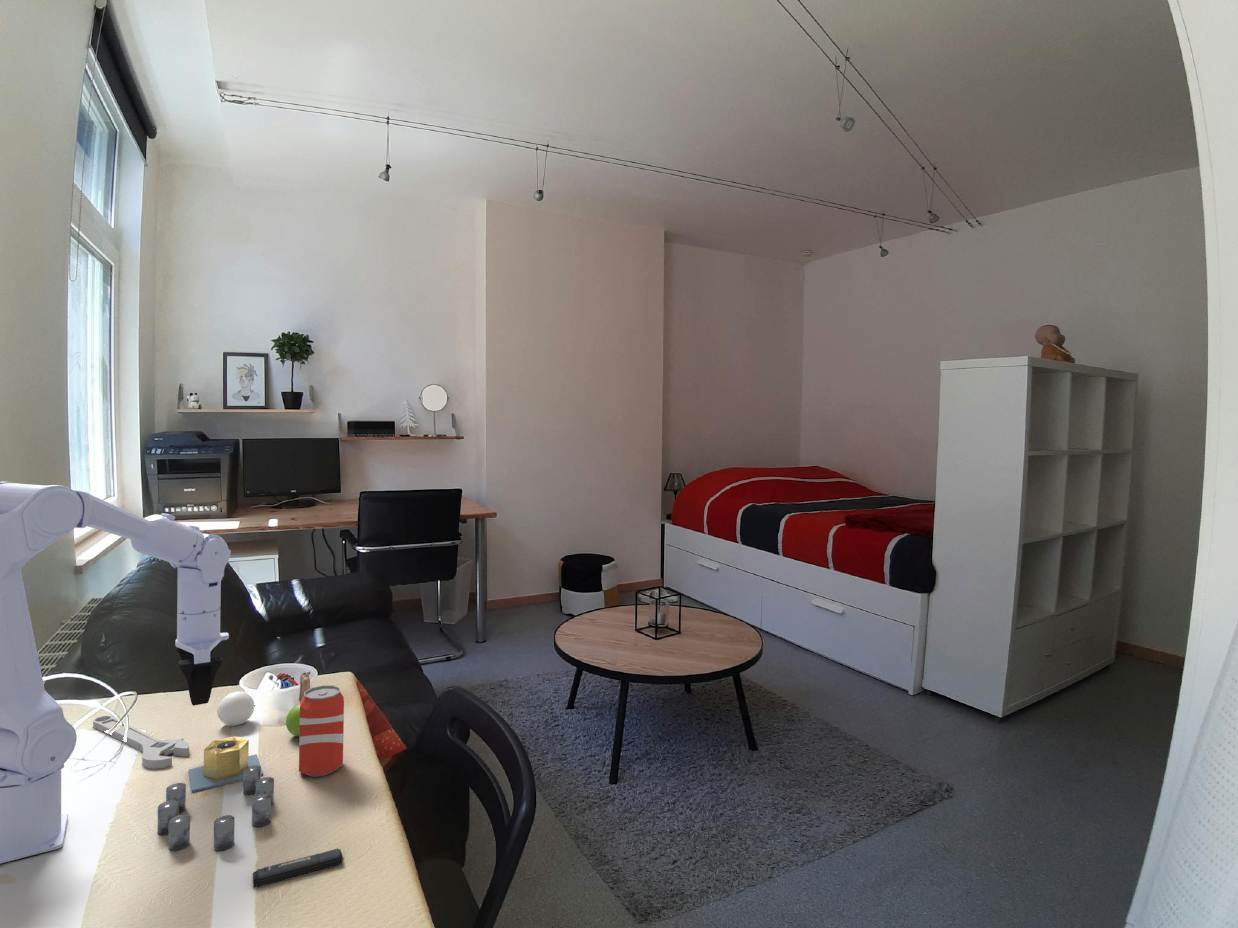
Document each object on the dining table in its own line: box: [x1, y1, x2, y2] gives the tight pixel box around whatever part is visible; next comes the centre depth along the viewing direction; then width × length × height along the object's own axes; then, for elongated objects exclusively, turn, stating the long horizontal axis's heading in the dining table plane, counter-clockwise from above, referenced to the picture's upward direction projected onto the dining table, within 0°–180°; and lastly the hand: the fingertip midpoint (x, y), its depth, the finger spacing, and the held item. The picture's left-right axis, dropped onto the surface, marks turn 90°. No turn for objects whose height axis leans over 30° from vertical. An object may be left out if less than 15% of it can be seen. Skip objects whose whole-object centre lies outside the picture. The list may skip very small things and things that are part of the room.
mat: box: [188, 754, 264, 793], centre depth 98 cm, size 9×7×1 cm
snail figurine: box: [285, 670, 311, 737], centre depth 111 cm, size 5×6×12 cm
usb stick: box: [252, 848, 344, 888], centre depth 77 cm, size 10×3×2 cm, turn 119°
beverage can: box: [298, 684, 345, 777], centre depth 100 cm, size 6×6×12 cm
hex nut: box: [203, 735, 250, 781], centre depth 98 cm, size 6×5×4 cm
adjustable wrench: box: [92, 715, 190, 769], centre depth 108 cm, size 25×6×2 cm, turn 55°
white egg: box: [216, 691, 256, 727], centre depth 115 cm, size 8×6×6 cm
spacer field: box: [157, 765, 275, 852], centre depth 86 cm, size 13×14×3 cm
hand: (198, 695), depth 104 cm, fingers open, 7 cm apart
